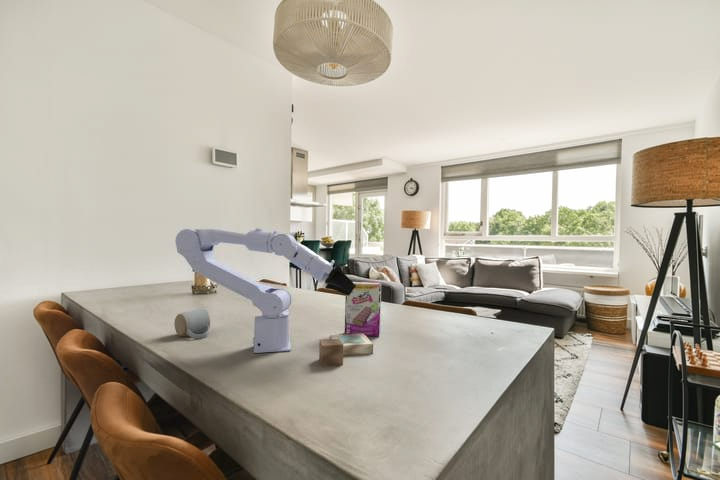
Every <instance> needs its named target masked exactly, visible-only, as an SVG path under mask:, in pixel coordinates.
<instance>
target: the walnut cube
mask: <svg viewBox="0 0 720 480" xmlns="http://www.w3.org/2000/svg"><path fill="white" fill-rule="evenodd" d="M318 347H319V350H318V352H319V353H318V357H319V358H318V359H319V362H320V365H321V367H322V368H325V367H335V366H343V365H344V355H343V343H342V342H341V340H340V339H330V338H326V339H325V338H323V339H319V346H318Z"/></svg>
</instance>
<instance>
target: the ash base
mask: <svg viewBox="0 0 720 480" xmlns="http://www.w3.org/2000/svg"><path fill="white" fill-rule="evenodd" d="M329 339H340V340H341V342H342V343H343V356H353V355H369V354H374V343H373V342H372V341H371V340H370V339H369V338H368V336H365V335H364V334H347V335H345V334H333V335H329Z"/></svg>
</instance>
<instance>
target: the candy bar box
mask: <svg viewBox="0 0 720 480" xmlns="http://www.w3.org/2000/svg"><path fill="white" fill-rule="evenodd" d="M352 282H353V283H354V284H355V285H356V286H355V288H354V289H353V291H352V292H351V294H350V295H349V296H347V295H345V301H344V303H345V304H344V305H345V306H344V307H345V308H344V309H345V310H344V335H347V334H364V335H365V336H366V337H379V338H380V334H381V317H382V316H381V315H382V314H381V313H382V312H381V311H382V310H381V309H382V308H381V307H382V306H381V305H382V283H381V282H370V281H369V282H364V281H352Z"/></svg>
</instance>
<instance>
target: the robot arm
mask: <svg viewBox="0 0 720 480" xmlns="http://www.w3.org/2000/svg"><path fill="white" fill-rule="evenodd" d="M220 243H222V244H232V245H233V244H234V245H242V246H245V247H246V248H247V250H248V251H251V252H252V251H253V252H258V253H269V254H272V253H274V255H276V256H278V257H279V256H280V257H282V256H283V257H284V258H285V259H287V260H288V261H290V262H291V263H292V264H293V265H294V266H297V268H300V270H302V271H304V272H305V273H306V274H307V275H309V276H310V277H313V278H314V279H315V280H317V282H318V283H320V284H321V283H322V282H324V283H325V284H326V286H325V289H327V290H333V291H336V292H338V293H340V294H342V295H345V296H346V295H347V296H349V295H350V294H351V292H352V291H353V289H354V288H355V286H356V285H355V284H354V283H353V282H354V281H352V280H351V279H350V278H349V277H348V276H347V275H346V273H345V272H344V271H343V269H342V268H341V265H339V264H337V266H336V267H335V268H334V267H333V265H334V264H335V262H336V261H335V260H334V259H332V260H331V261H330V262H329V261H328V260H326V259H324V258H323V257H322V256H320V255H318V253H315V252H314V251H313V250H311V249H310V248H309V247H307V246H305V245H304V244H302V243H300V242H299V241H297V240H296V238H295V237H294V236H293V235H291V234H288V233H279V231H276V230H274V231H273V232H271V231H264V230H263V229H262V228H257V227H256V228H255V229H251V230H249V231H248V232H247V233H242V232H236V231H229V230H223V229H215V228H201V229H200V228H199V229H198V228H197V229H195V228H194V229H190V228H185V229H181V230H180V231H179V232H178V233H177V234H176V236H175V248H176V252H177V253H178V254H180V255H181V256H182V257H183V258H184V259H185V261H186V262H187V264H188V265H189V266H190V267H191V269H192V270H193V271H194V272H195V273H196V274H198V275H200V276H202V277H204V278H206V279H208V280H210V281H211V282H214V283H216V284H218V285H219V286H221V287H224V288H226V289H228V290H231V291H232V292H234V293H235V294H238V295H241V297H244V298H246V299H248V300H250V301H251V302H252V305H253V307H255V308H257V309H259V311H260V312H261V313H262V314H261V315H256V316H255V317H254V326H253V328H254V330H253V331H254V332H253V333H254V334H253V336H252V337H253V339H252V344H253V353H255V354H258V353H274V352H275V353H276V352H290V351H291V350H292V346H291V340H290V311H289V307H290V306H291V305H292V301H293V297H292V295H291V293H290V291H288V290H287V289H285V288H276V287H274V286H272V285H267V284H263V283H261V282H258V281H257V280H254V279H252V278H250V277H249V276H246V275H244V274H243V273H240V272H238V271H236V270H234V269H233V268H231V267H228V266H226V265H225V264H222V263H220V262H218V261H216V260H215V257H214V253H215V251H214V250H215V249H214V248H215V246H217V245H219V244H220Z"/></svg>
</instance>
